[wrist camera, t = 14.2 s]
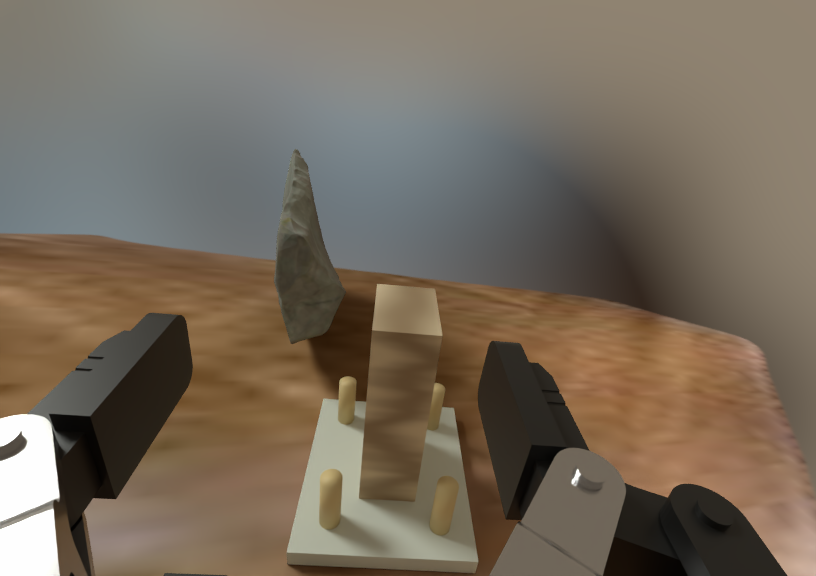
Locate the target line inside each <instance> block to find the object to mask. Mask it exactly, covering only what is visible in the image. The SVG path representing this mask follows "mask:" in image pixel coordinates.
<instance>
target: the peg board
mask: <svg viewBox="0 0 816 576" xmlns="http://www.w3.org/2000/svg"><path fill="white" fill-rule="evenodd" d="M356 383H357V381H356V379H355V378H353V377H349V376H347V377H343V378H341V379H340V381H339V400H335V399H323V404H322V408H321V412H320V416H319V420H318V424H317V428H316V433H315V437H314V441H313V445H312V449H311V453H310V458H309V462H308V466H307V470H306V474H305V478H304V483H303V487H302V491H301V495H300V499H299V503H298V507H297V512H296V516H295V520H294V524H293V528H292V532H291V537H290V541H289V545H288V549H287V564H292V565H313V566H334V567H355V568H376V569H397V570H418V571H439V572H460V573H475V572H476V569H477V565H478V556H477V550H476V543H475V537H474V531H473V525H472V518H471V512H470V506H469V500H468V493H467V487H466V481H465V475H464V469H463V462H462V456H461V450H460V444H459V437H458V431H457V425H456V419H455V412H454V408H447V407H442V405H443V399H444V394H445V387H444V386H443V385H441V384H439V383H435V384H434V390H433V396H432V402H431V408H430V414H429V420H428V426H427V432H426V438H425V444H424V450H423V456H422V462H421V468H420V474H419V480H418V486H417V492H416V498H415V502H410V501H393V500H376V499H359V488H360V475H361V463H362V450H363V438H364V425H365V412H366V402H363V401H355V399H356Z"/></svg>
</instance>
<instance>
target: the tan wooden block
mask: <svg viewBox="0 0 816 576" xmlns="http://www.w3.org/2000/svg"><path fill="white" fill-rule="evenodd" d="M441 342H442V330H441V323H440V317H439V311H438V305H437V299H436V292H435V289H430V288H418V287H407V286H396V285H384V284H377V291H376V300H375V309H374V318H373V326H372V337H371V350H370V362H369V375H368V387H367V400H366V412H365V425H364V438H363V450H362V463H361V475H360V488H359V499H376V500H393V501H410V502H415V498H416V492H417V486H418V480H419V474H420V468H421V462H422V456H423V450H424V444H425V438H426V432H427V426H428V420H429V414H430V408H431V402H432V396H433V390H434V384H435V378H436V372H437V366H438V360H439V354H440V348H441Z"/></svg>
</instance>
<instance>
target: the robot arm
mask: <svg viewBox="0 0 816 576" xmlns="http://www.w3.org/2000/svg"><path fill="white" fill-rule="evenodd" d="M192 368H193V365H192V357H191V350H190V344H189V337H188V331H187V324H186V320H185V318H184V317H183V316H182V315H172V314H159V313H149V314H147V315H146V316H145V317H144V318H143V319H142V320H141V321H140V322H139V323H138V324H137V325H136V326H135V327H134V328H133V329H132V330H131V331H122V332H121V333H119V334H117V335H115V336H113V337H111V338H109V339H107V340H106V341H104V342H102V343H101V344H100V345H99V346H98V347H97V348H96V349H95V350H94V351H93V352H92V353H91V354H90V355H89V356H88V359H84V360H83V361H82V362H81V363H80V364H79V365H78V366H77V367H76V370H75V371H72V372H71V373H70V374H69V375H68V376H67V377H66V378H64V379H63V380H62V381H61V382H60V383H59V384H58V385H57V386H56V387H55V388H54V389H53V390H52V391H51V392H50V393H49V394H48V395H47V396H46V397H45V398H43V399H42V400H41V401H40V402H39V403H38V404H37V405H36V406H35V407H34V408H33V409H32V410H31V411H30V412H29V413H28V414H25V415H16V416H10V417H6V418H3V419H0V576H95V571H94V565H93V558H92V552H91V546H90V540H89V533H88V527H87V521H86V517H85V514H84V510H85V509H86V507H87V506H88V504H89V503H90V502H91V500H92V499H93V498H103V499H116V498H117V497H118V495H119V494H120V492H121V491H122V489H123V487H124V486H125V484H126V483H127V481H128V480H129V478H130V476H131V475H132V473H133V472H134V470H135V469H136V467H137V466H138V464H139V462H140V461H141V459H142V458H143V456H144V455H145V453H146V452H147V450H148V448H149V447H150V445H151V444H152V442H153V441H154V439H155V437H156V436H157V434H158V433H159V431H160V430H161V428H162V427H163V425H164V423H165V422H166V420H167V419H168V417H169V416H170V414H171V413H172V411H173V409H174V408H175V406H176V405H177V403H178V402H179V400H180V398H181V397H182V395H183V394H184V392H185V391H186V389H187V387H188V385H189V383H190V380H191V376H192ZM478 406H479V411H480V415H481V419H482V423H483V428H484V432H485V436H486V440H487V444H488V448H489V452H490V456H491V460H492V465H493V469H494V473H495V477H496V481H497V485H498V489H499V493H500V498H501V502H502V506H503V510H504V514H505V518H506V519H509V520H522V521H521V522H520V521H519V522H518V523H517V525H516V526H515V528H514V530H513V532H512V534H511V535H510V537H509V539H508V541H507V543H506V545H505V547H504V549H503V551H502V553H501V554H500V556H499V558H498V560H497V562H496V564H495V566H494V568H493V570H492V571H491V573H490V575H489V576H787V575H786V573H785V572H784V570H783V569H782V568H781V566H780V565H779V563H778V562H777V561H776V559H775V558H774V556H773V555H772V554H771V552H770V551H769V549H768V548H767V547H766V545H765V544H764V542H763V541H762V540H761V538H760V537H759V535H758V534H757V533H756V531H755V530H754V528H753V527H752V526H751V524H750V523H749V521H748V520H747V519H746V517H745V516H744V515H743V514H742V513H741V512H740V511H739V510H738V509H737V508H736V507H735V506H734V505H733V504H732V503H731V502H729V501H728V500H726V499H725V498H724V497H722V496H721V495H719V494H717V493H715V492H713V491H712V490H709V489H707V488H705V487H702V486H698V485H694V484H681V485H678V486H676V487H675V488H674V489H673V490H672V492H671V493H670V495H669V497H668V498H667V497H664V496H661V495H658V494H655V493H651V492H648V491H645V490H642V489H639V488H636V487H633V486H631V485H628V484H626V483H624V481H623V479H622V477H621V475H620V474H619V472H618V471H617V470H616V469H615V467H614V466H613V465H611V464H610V463H609V462H608V461H607V460H605V459H604V458H603V457H601V456H599V455H597V454H595V453H593V452H591V451H589V449H588V447H587V445H586V443H585V441H584V439H583V437H582V435H581V433H580V431H579V429H578V427H577V425H576V423H575V421H574V419H573V417H572V415H571V413H570V411H569V409H568V407H567V406H565V401H564V399H563V397H562V395H561V394H559V389H558V387H557V385H556V383H555V381H554V379H553V377H552V376H551V375H550V374H549V373H548V372H547V371H546V370H545V369H544V368H543V367H542V366H541V365H540V364H539V363H530V362H529V361H528V359H527V357H526V355H525V352H524V350H523V348H522V346H521V344H520V343H511V342H499V341H491V343H490V344H489V347H488V351H487V355H486V359H485V363H484V367H483V371H482V375H481V379H480V383H479V389H478ZM164 576H226V575H201V574H173V573H165V574H164Z"/></svg>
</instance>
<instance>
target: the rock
mask: <svg viewBox="0 0 816 576" xmlns="http://www.w3.org/2000/svg"><path fill="white" fill-rule="evenodd" d="M274 283H275V286H276V289H277V292H278V296H279V304H280V307H281V311H282V315H283V319H284V322H285V325H286V328H287V332H288V336H289V339H290V342H291V344H294V343H297V342H299V341H302V340H305V339H309V338H312V337H316V336H320V335H323V334H324V333H326V331H327V330H328V329H329V328H330V325H331V323H332V320H333V318H334V315H335V313H336V311H337V309H338V307H339V305H340V303H341V301H342V299H343V297H344V295H345V293H346V291H345V289H344V288H343V287H342V284H341V282H340V281H339V277H338V275H337V273H336V271H335V270H334V268H333V266H332V264H331V262H330V259H329V256H328V253H327V251H326V249H325V245H324V242H323V238H322V234H321V229H320V226H319V221H318V216H317V212H316V207H315V203H314V197H313V192H312V187H311V183H310V177H309V173H308V166H307V164H306V163H305V161H304V159H303V158H301V156H300V153H299V151H298V150H296V149H295V150H294V152H293V154H292V157H291V161H290V166H289V171H288V175H287V180H286V185H285V191H284V198H283V211H282V213H281V219H280V224H279V229H278V236H277V247H276V268H275V277H274Z"/></svg>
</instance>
